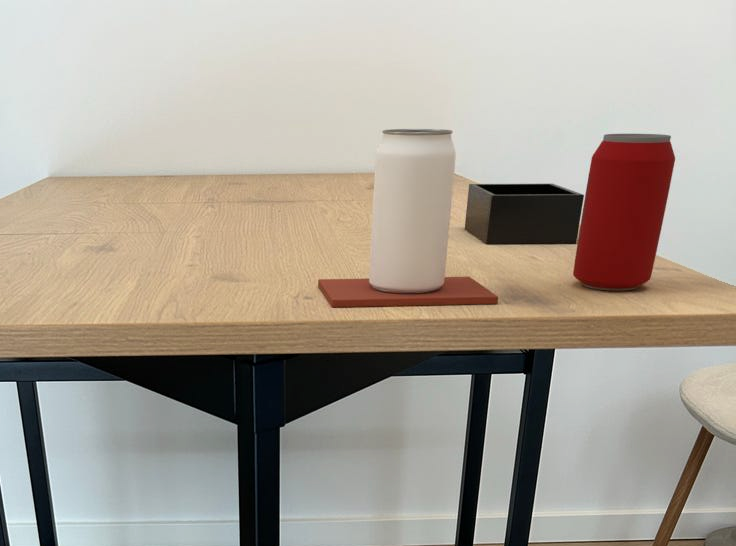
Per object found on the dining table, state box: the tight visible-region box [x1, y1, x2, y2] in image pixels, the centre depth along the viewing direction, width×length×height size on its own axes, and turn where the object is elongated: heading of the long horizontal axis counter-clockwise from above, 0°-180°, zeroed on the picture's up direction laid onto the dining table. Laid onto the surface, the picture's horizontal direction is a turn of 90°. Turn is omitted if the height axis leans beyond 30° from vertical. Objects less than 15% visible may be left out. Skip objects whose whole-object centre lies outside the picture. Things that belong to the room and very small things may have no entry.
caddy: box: [464, 183, 585, 245], centre depth 109 cm, size 12×10×5 cm
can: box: [368, 128, 456, 294], centre depth 78 cm, size 6×6×12 cm
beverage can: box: [572, 133, 676, 292], centre depth 82 cm, size 7×7×12 cm
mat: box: [317, 276, 499, 308], centre depth 81 cm, size 14×9×1 cm, turn 94°
